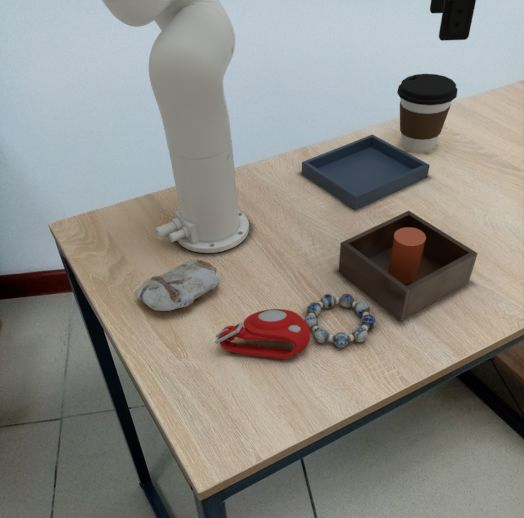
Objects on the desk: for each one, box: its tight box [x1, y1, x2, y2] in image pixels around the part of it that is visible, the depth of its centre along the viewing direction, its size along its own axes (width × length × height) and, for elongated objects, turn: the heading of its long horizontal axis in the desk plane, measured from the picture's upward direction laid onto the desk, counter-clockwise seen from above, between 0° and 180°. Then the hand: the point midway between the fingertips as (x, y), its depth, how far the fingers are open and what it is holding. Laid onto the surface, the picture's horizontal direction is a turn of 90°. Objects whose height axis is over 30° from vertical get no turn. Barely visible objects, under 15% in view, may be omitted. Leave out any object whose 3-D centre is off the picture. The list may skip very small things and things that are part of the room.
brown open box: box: [338, 210, 478, 322], centre depth 78 cm, size 14×14×6 cm
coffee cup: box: [396, 73, 458, 154], centre depth 102 cm, size 11×11×12 cm
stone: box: [135, 258, 220, 312], centre depth 79 cm, size 12×9×3 cm
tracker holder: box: [214, 308, 311, 360], centre depth 71 cm, size 12×4×10 cm
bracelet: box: [303, 293, 376, 349], centre depth 73 cm, size 10×10×2 cm
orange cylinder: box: [388, 227, 426, 284], centre depth 77 cm, size 4×4×7 cm
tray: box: [301, 133, 431, 211], centre depth 99 cm, size 18×16×2 cm
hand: (447, 25), depth 63 cm, fingers open, 9 cm apart
